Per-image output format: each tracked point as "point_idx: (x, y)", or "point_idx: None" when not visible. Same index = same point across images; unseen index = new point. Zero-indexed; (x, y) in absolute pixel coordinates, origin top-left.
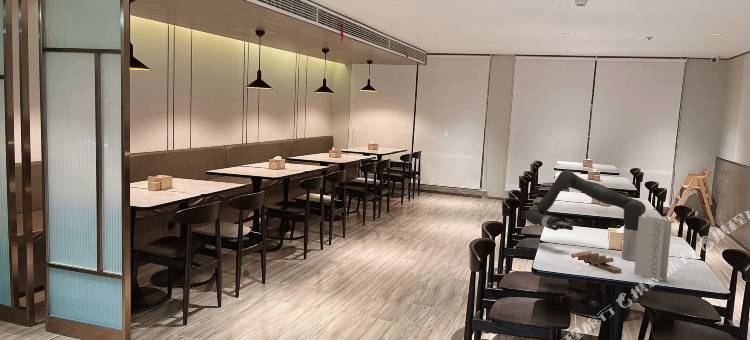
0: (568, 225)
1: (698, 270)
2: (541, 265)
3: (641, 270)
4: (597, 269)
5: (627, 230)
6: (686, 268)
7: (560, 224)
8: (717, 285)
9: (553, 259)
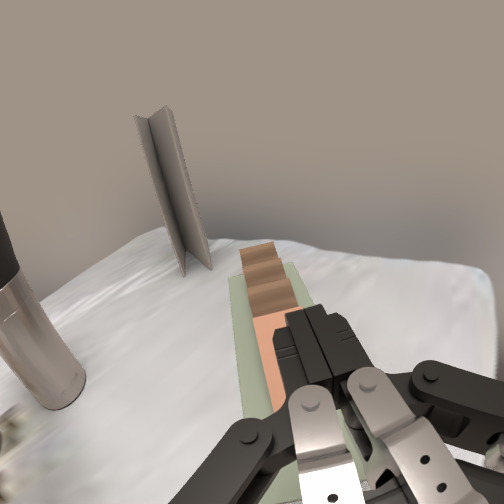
0: (325, 355)
1: (55, 297)
2: (483, 298)
3: (206, 246)
4: (300, 280)
5: (17, 280)
6: (55, 306)
7: (456, 396)
8: (127, 244)
9: None
